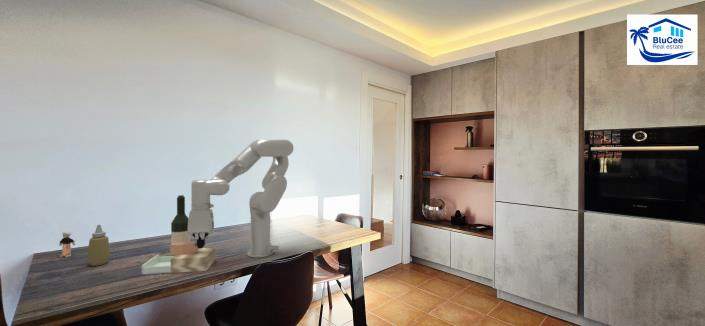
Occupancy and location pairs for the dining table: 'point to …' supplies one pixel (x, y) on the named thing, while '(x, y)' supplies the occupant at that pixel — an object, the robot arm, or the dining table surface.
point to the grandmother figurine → (66, 244)
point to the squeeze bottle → (98, 248)
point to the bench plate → (193, 261)
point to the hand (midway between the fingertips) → (200, 247)
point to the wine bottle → (180, 223)
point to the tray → (157, 265)
